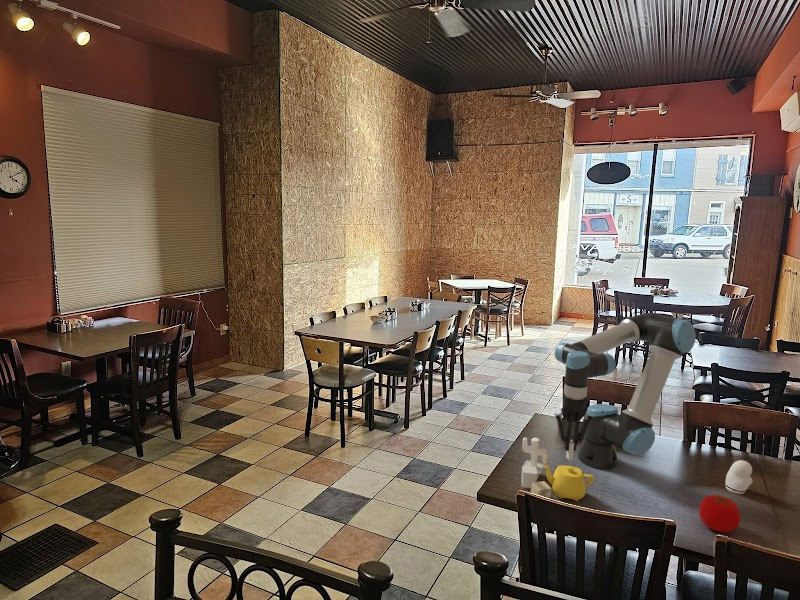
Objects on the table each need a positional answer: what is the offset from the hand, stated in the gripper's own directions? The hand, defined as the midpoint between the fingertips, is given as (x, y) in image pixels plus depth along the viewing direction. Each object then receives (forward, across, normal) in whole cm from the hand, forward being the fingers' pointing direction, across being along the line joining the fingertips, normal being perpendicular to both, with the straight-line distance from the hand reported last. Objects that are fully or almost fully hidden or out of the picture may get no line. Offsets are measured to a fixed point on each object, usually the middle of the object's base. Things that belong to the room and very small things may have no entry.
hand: (569, 458), depth 187 cm
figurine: (+14, +9, -13) cm, 21 cm away
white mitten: (+14, -65, -5) cm, 67 cm away
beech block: (+14, +10, +3) cm, 18 cm away
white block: (+14, +12, -6) cm, 19 cm away
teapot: (+14, 0, 0) cm, 14 cm away
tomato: (+14, -44, +18) cm, 49 cm away
